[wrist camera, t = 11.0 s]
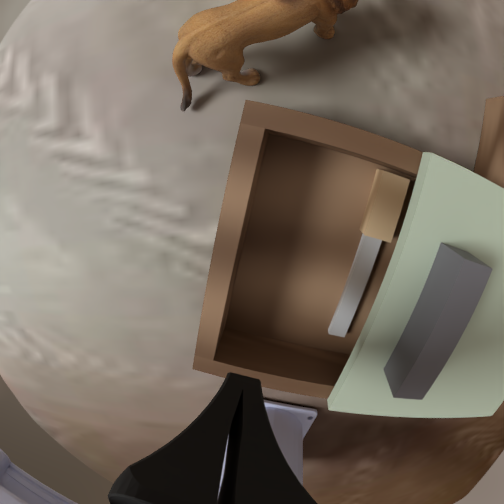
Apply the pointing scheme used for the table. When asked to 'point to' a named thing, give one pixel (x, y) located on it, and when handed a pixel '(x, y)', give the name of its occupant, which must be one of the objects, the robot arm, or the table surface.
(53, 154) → the table surface
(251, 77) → the lion figurine
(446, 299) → the lid
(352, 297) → the wooden box
